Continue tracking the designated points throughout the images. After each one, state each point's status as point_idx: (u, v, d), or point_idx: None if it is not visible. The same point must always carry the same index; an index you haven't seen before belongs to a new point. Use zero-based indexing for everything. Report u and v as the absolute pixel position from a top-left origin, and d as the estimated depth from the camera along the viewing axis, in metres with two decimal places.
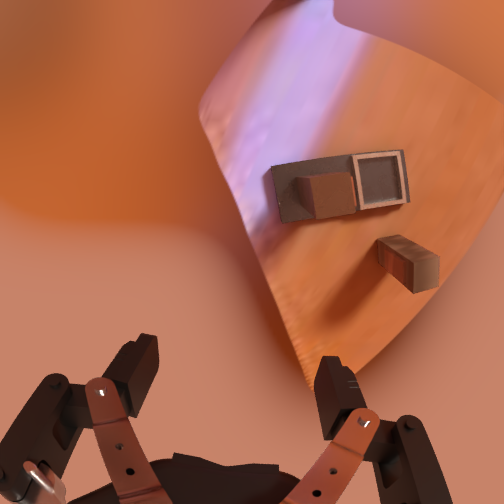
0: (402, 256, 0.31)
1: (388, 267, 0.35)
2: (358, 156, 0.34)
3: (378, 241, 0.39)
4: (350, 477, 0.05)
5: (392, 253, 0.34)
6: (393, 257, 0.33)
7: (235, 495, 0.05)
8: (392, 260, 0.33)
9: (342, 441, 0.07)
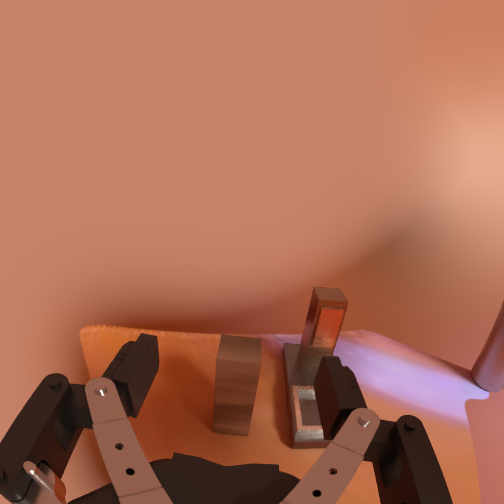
0: None
1: None
2: None
3: None
4: (350, 477, 0.05)
5: None
6: None
7: (235, 495, 0.05)
8: None
9: (342, 441, 0.07)
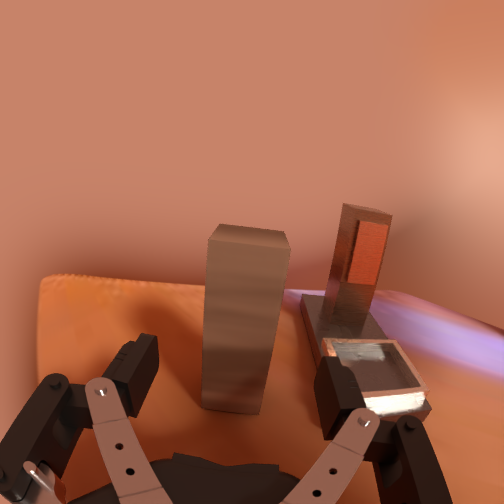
0: None
1: None
2: (397, 344, 0.22)
3: None
4: (350, 477, 0.05)
5: None
6: None
7: (235, 495, 0.05)
8: None
9: (342, 441, 0.07)
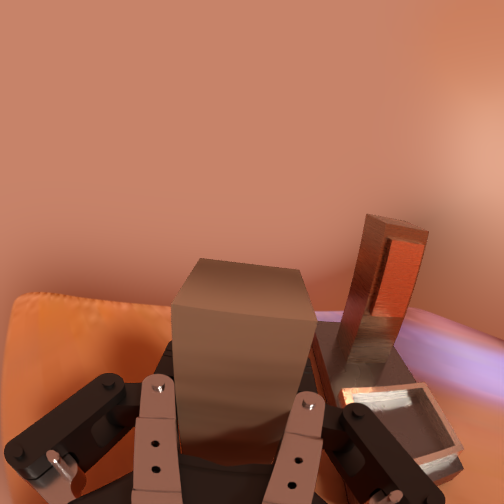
0: None
1: None
2: (426, 389, 0.16)
3: None
4: (317, 462, 0.06)
5: None
6: None
7: (235, 495, 0.05)
8: None
9: (294, 428, 0.08)
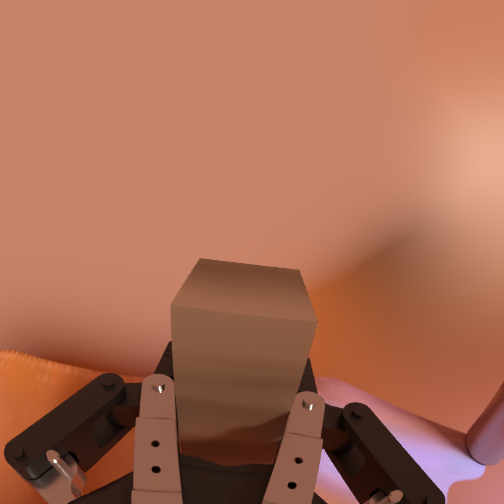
0: None
1: None
2: None
3: None
4: (317, 462, 0.06)
5: None
6: None
7: (235, 495, 0.05)
8: None
9: (294, 428, 0.08)
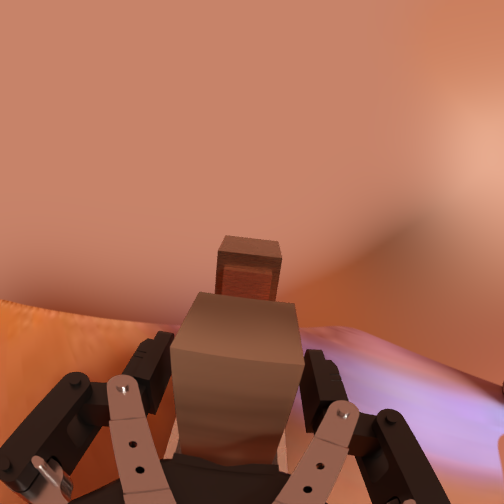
0: None
1: None
2: None
3: None
4: (338, 470, 0.05)
5: None
6: None
7: (235, 495, 0.05)
8: None
9: (324, 435, 0.07)
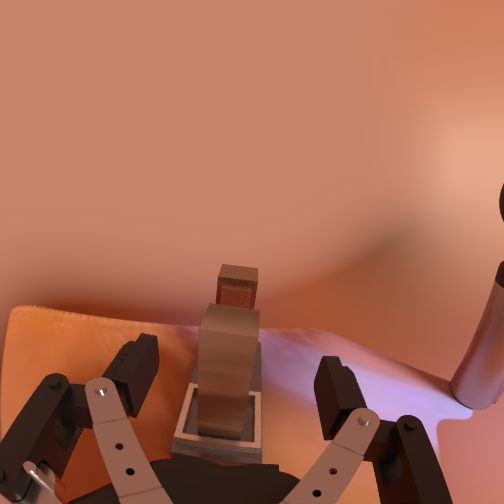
0: None
1: None
2: (258, 397, 0.26)
3: None
4: (350, 477, 0.05)
5: None
6: None
7: (235, 495, 0.05)
8: None
9: (342, 441, 0.07)
